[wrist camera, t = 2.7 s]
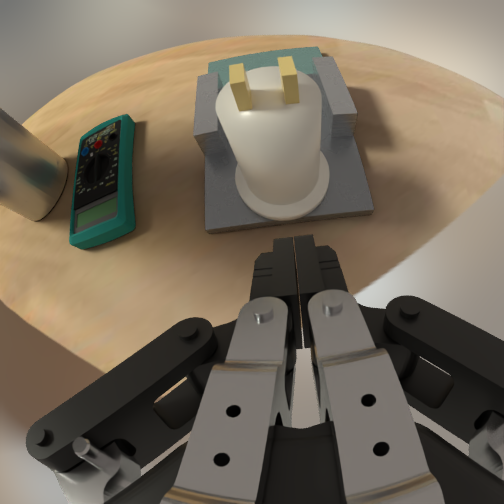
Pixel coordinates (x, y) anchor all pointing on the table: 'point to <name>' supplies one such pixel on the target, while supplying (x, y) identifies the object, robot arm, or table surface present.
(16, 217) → the table surface
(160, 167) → the table surface
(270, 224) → the housing
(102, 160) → the digital multimeter
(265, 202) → the plug
